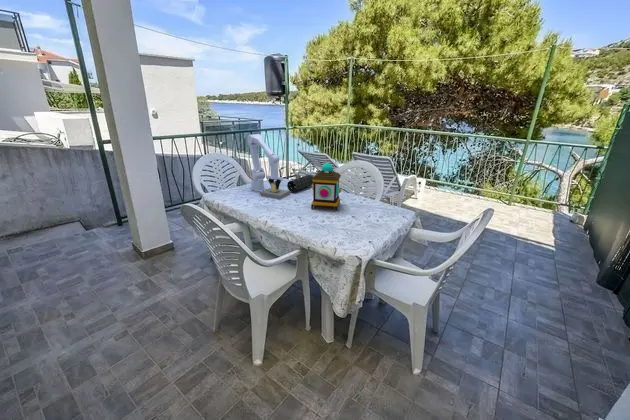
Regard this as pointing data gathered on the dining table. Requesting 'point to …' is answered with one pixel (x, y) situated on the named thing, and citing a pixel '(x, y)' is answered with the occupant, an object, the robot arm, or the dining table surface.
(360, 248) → the dining table surface
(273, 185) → the plug
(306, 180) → the muzzle brake
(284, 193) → the socket plate
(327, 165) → the decorative lantern
